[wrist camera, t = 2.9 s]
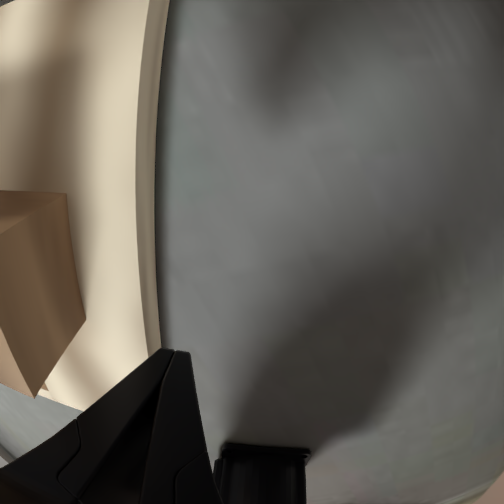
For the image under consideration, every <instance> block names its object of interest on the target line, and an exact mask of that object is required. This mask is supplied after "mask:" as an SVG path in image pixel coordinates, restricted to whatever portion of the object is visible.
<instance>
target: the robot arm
mask: <svg viewBox="0 0 504 504" xmlns="http://www.w3.org/2000/svg"><path fill="white" fill-rule="evenodd" d="M310 458H311V451H310V450H307V449H282V448H267V447H254V446H244V445H235V444H225V445H223V449H222V459H217V460H215V464H214V470H213V473H212V469H211V465H210V460H209V456H208V452H207V447H206V442H205V437H204V431H203V426H202V421H201V415H200V410H199V404H198V398H197V393H196V387H195V380H194V374H193V368H192V361H191V355H190V353H189V352H185V351H179V350H177V351H174V350H173V349H168V348H159V349H158V350H157V351H156V352H154V353H153V354H152V355H151V356H150V357H148V358H147V359H146V360H145V361H144V362H143V363H141V364H140V365H139V366H138V367H137V368H135V369H134V370H133V371H132V372H131V373H129V374H128V375H127V376H126V377H125V378H123V379H122V380H121V381H120V382H119V383H117V384H116V385H115V386H114V387H113V388H111V389H110V390H109V391H108V392H107V393H105V394H104V395H103V396H102V397H101V398H99V399H98V400H97V401H96V402H95V403H93V404H92V405H91V406H90V407H89V408H87V409H86V410H85V411H84V412H82V413H81V414H80V415H79V416H78V417H77V420H76V419H74V420H73V421H71V422H70V423H69V424H68V425H66V426H65V427H64V428H63V429H61V430H60V431H59V432H57V433H56V434H55V435H54V436H52V437H51V438H49V439H48V440H46V441H45V442H43V443H42V444H40V445H39V446H37V447H36V448H34V449H32V450H31V451H29V452H27V453H26V454H24V455H22V456H21V457H19V458H17V459H16V460H14V461H12V462H11V463H9V464H7V465H6V466H4V467H2V468H0V504H306V474H305V466H306V465H307V463H308V461H309V459H310Z"/></svg>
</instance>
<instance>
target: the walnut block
mask: <svg viewBox="0 0 504 504" xmlns="http://www.w3.org/2000/svg"><path fill="white" fill-rule="evenodd" d="M85 321H86V317H85V312H84V308H83V303H82V298H81V294H80V289H79V283H78V278H77V272H76V267H75V260H74V254H73V247H72V240H71V233H70V224H69V215H68V205H67V194H66V193H53V192H33V191H9V190H0V383H2V384H4V385H6V386H8V387H10V388H12V389H14V390H16V391H18V392H21V393H23V394H25V395H27V396H30V397H32V398H34V399H35V397H36V395H37V394H38V392H39V390H40V389H41V387H42V386H43V384H44V382H45V381H46V379H47V378H48V376H49V374H50V373H51V371H52V370H53V368H54V367H55V365H56V364H57V362H58V361H59V359H60V358H61V356H62V355H63V353H64V352H65V350H66V349H67V347H68V346H69V344H70V343H71V341H72V340H73V338H74V337H75V335H76V334H77V333H78V331H79V330H80V328H81V327H82V325H83V324H84V323H85Z"/></svg>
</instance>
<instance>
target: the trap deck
mask: <svg viewBox="0 0 504 504" xmlns="http://www.w3.org/2000/svg"><path fill="white" fill-rule="evenodd" d="M169 2H170V0H14V1H12V2H10V3H7V4H5V5H3V6H1V7H0V190H9V191H33V192H53V193H66V194H67V205H68V215H69V224H70V233H71V240H72V247H73V254H74V260H75V267H76V272H77V278H78V283H79V289H80V294H81V298H82V303H83V308H84V312H85V317H86V321H85V323H84V324H83V325H82V327H81V328H80V330H79V331H78V333H77V334H76V335H75V337H74V338H73V340H72V341H71V343H70V344H69V346H68V347H67V349H66V350H65V352H64V353H63V355H62V356H61V358H60V359H59V361H58V362H57V364H56V365H55V367H54V368H53V370H52V371H51V373H50V374H49V376H48V378H47V379H46V381H45V382H44V384H43V386H42V387H41V389H40V390H39V392H38V394H39V395H41V396H44V397H46V398H49V399H51V400H54V401H56V402H59V403H62V404H65V405H67V406H70V407H73V408H76V409H79V410H82V411H85V410H86V409H87V408H89V407H90V406H91V405H92V404H93V403H95V402H96V401H97V400H98V399H99V398H101V397H102V396H103V395H104V394H105V393H107V392H108V391H109V390H110V389H111V388H113V387H114V386H115V385H116V384H117V383H119V382H120V381H121V380H122V379H123V378H125V377H126V376H127V375H128V374H129V373H131V372H132V371H133V370H134V369H135V368H137V367H138V366H139V365H140V364H141V363H143V362H144V361H145V360H146V359H147V358H148V357H150V356H151V355H152V354H153V353H154V352H156V351H157V350H158V349H159V348H161V339H160V327H159V315H158V301H157V284H156V263H155V227H154V181H155V146H156V125H157V109H158V95H159V83H160V72H161V62H162V53H163V45H164V37H165V29H166V22H167V15H168V8H169Z"/></svg>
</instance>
